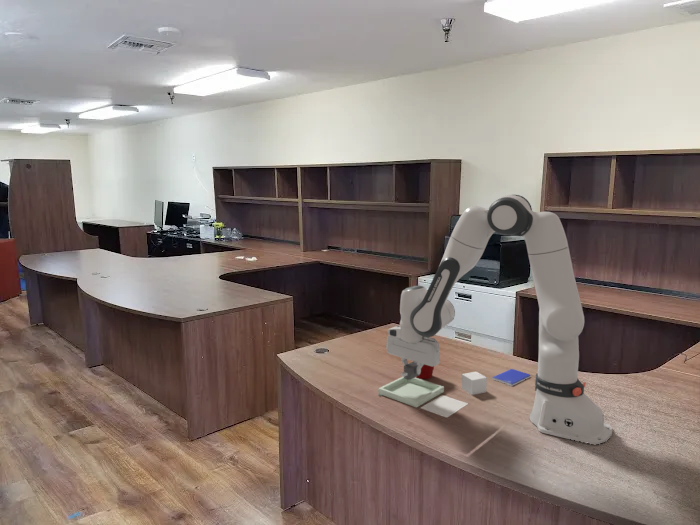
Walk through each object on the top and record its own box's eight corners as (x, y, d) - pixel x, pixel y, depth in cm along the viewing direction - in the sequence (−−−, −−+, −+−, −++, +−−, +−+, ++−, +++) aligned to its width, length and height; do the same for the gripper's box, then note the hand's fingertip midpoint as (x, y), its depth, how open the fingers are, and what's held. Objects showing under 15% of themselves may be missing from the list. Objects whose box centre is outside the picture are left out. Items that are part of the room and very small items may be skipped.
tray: (443, 393, 171) (443, 386, 171) (416, 409, 160) (416, 401, 160) (406, 381, 182) (406, 374, 182) (378, 395, 171) (378, 388, 170)
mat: (468, 405, 162) (468, 403, 162) (446, 419, 153) (446, 417, 153) (442, 396, 169) (442, 394, 169) (420, 409, 160) (420, 407, 160)
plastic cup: (430, 386, 178) (430, 353, 176) (404, 379, 184) (404, 348, 182) (444, 376, 186) (444, 345, 184) (418, 370, 193) (418, 340, 191)
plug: (414, 371, 174) (415, 360, 174) (421, 373, 172) (422, 362, 172) (398, 379, 168) (398, 368, 167) (405, 381, 166) (406, 370, 165)
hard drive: (511, 383, 176) (530, 374, 184) (492, 376, 183) (510, 368, 191) (511, 387, 177) (530, 378, 185) (491, 380, 183) (510, 372, 191)
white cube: (486, 394, 171) (486, 377, 170) (471, 397, 169) (472, 380, 168) (475, 387, 176) (476, 371, 175) (461, 390, 174) (461, 373, 173)
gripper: (444, 337, 163) (443, 377, 166) (395, 325, 177) (394, 362, 180) (433, 341, 159) (432, 382, 161) (383, 329, 173) (383, 367, 175)
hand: (412, 371), depth 171 cm, fingers closed on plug, 3 cm apart
